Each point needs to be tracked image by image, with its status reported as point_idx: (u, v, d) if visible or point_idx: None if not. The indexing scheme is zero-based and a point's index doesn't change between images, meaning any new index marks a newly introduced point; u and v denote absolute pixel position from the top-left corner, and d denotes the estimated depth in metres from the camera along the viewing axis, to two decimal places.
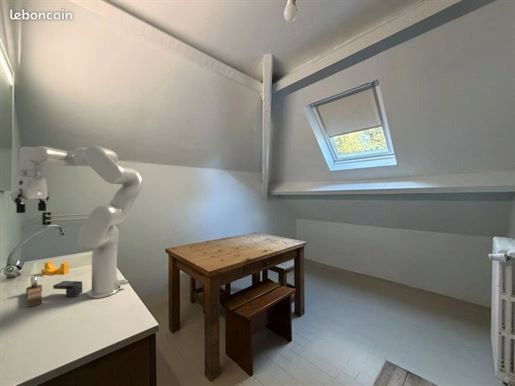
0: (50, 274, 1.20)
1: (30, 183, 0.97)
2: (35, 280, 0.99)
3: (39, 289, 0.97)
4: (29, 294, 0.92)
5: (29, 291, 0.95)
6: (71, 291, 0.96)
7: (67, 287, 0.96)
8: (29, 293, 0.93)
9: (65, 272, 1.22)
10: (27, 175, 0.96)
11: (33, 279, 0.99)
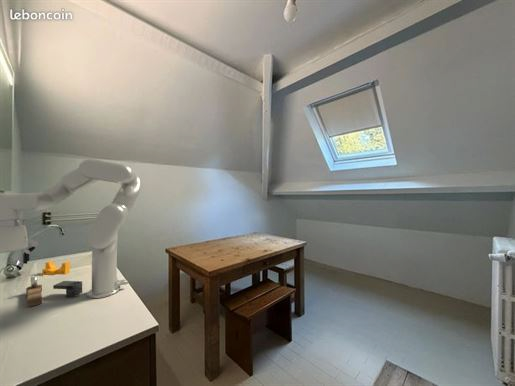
0: (51, 274, 1.21)
1: None
2: (35, 280, 0.99)
3: (39, 289, 0.97)
4: (29, 294, 0.92)
5: (29, 291, 0.95)
6: (71, 291, 0.96)
7: (67, 287, 0.96)
8: (29, 293, 0.93)
9: (66, 272, 1.23)
10: None
11: (33, 279, 0.99)
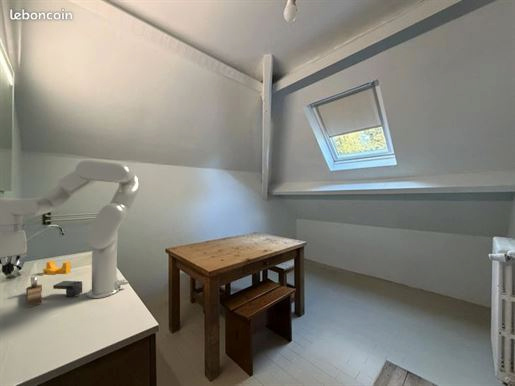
0: (52, 273, 1.21)
1: None
2: (35, 280, 0.99)
3: (39, 289, 0.97)
4: (29, 294, 0.92)
5: (29, 291, 0.95)
6: (71, 291, 0.96)
7: (67, 287, 0.96)
8: (29, 293, 0.93)
9: (67, 271, 1.23)
10: None
11: (33, 279, 0.99)
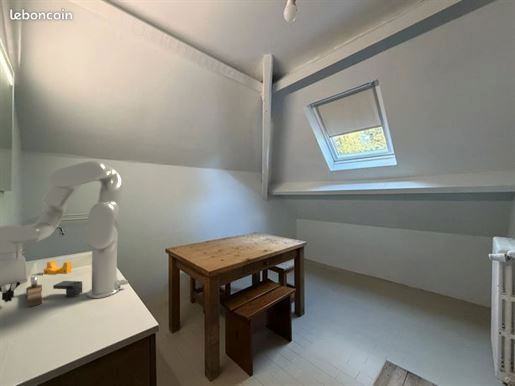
0: (53, 273, 1.22)
1: None
2: (35, 280, 0.99)
3: (39, 289, 0.97)
4: (29, 294, 0.92)
5: (29, 291, 0.95)
6: (71, 291, 0.96)
7: (67, 287, 0.96)
8: (29, 293, 0.93)
9: (68, 271, 1.24)
10: None
11: (33, 279, 0.99)
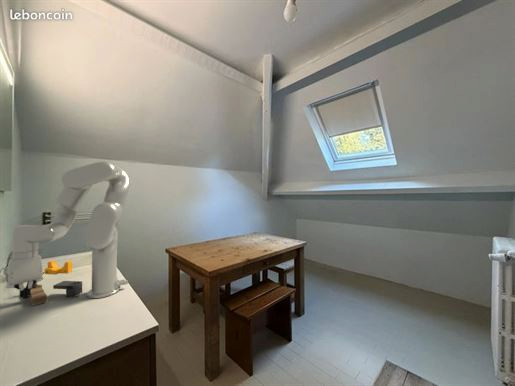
0: (54, 273, 1.22)
1: None
2: None
3: (41, 289, 0.98)
4: (32, 293, 0.93)
5: (31, 291, 0.95)
6: (71, 291, 0.96)
7: (67, 287, 0.96)
8: (32, 292, 0.94)
9: (69, 271, 1.24)
10: None
11: None
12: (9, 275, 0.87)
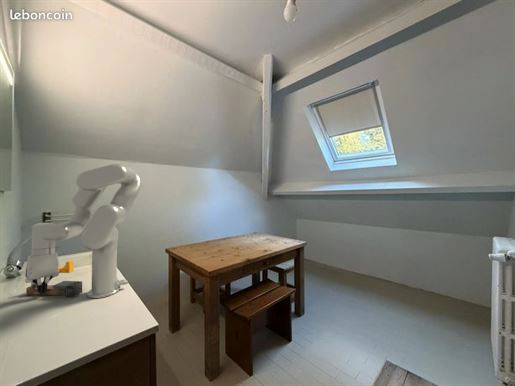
0: None
1: None
2: None
3: (49, 285, 1.01)
4: (50, 288, 0.98)
5: None
6: (71, 291, 0.96)
7: (67, 287, 0.96)
8: (47, 288, 0.98)
9: (70, 270, 1.25)
10: None
11: None
12: (28, 270, 0.91)
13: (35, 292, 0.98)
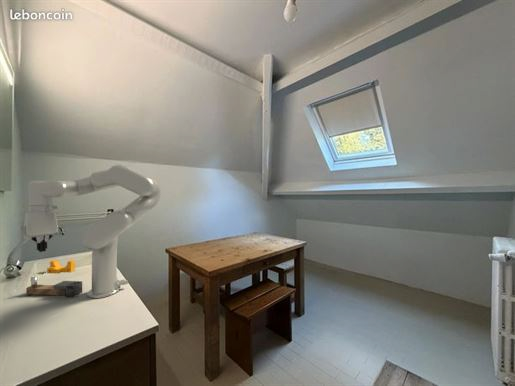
0: (57, 272, 1.24)
1: None
2: (35, 280, 0.99)
3: (49, 285, 1.01)
4: (50, 288, 0.98)
5: (41, 288, 0.98)
6: (71, 291, 0.96)
7: (67, 287, 0.96)
8: (47, 288, 0.98)
9: (72, 270, 1.26)
10: None
11: (33, 279, 0.99)
12: (27, 227, 0.90)
13: (35, 292, 0.98)
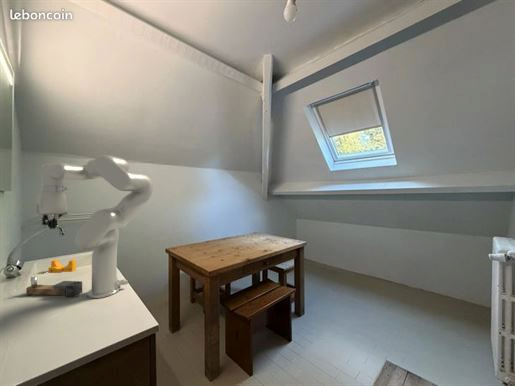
0: (58, 271, 1.24)
1: None
2: (35, 280, 0.99)
3: (49, 285, 1.01)
4: (50, 288, 0.98)
5: (41, 288, 0.98)
6: (71, 291, 0.96)
7: (67, 287, 0.96)
8: (47, 288, 0.98)
9: (73, 269, 1.27)
10: None
11: (33, 279, 0.99)
12: (39, 205, 0.99)
13: (35, 292, 0.98)
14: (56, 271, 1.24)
